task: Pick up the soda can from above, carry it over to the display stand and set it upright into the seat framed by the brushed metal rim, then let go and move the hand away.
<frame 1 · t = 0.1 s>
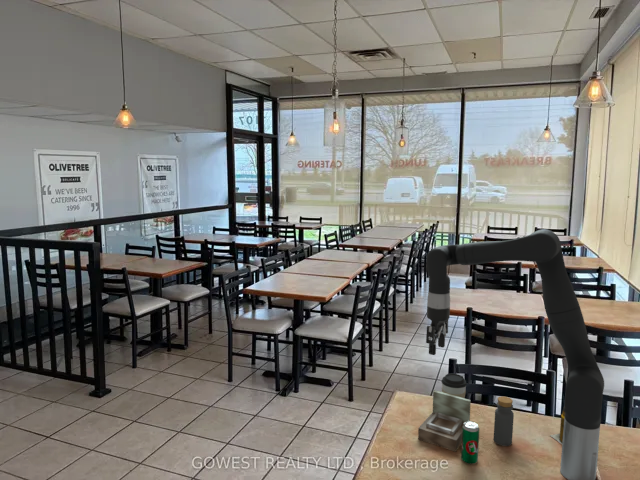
hand: (436, 350, 162), 29 cm above the table, tool pointing down, fingers open, 8 cm apart
display stand: (443, 435, 162), on the table
bottle: (502, 441, 159), on the table
soda can: (469, 460, 149), on the table
coffee cup: (452, 414, 177), on the table
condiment: (567, 441, 160), on the table
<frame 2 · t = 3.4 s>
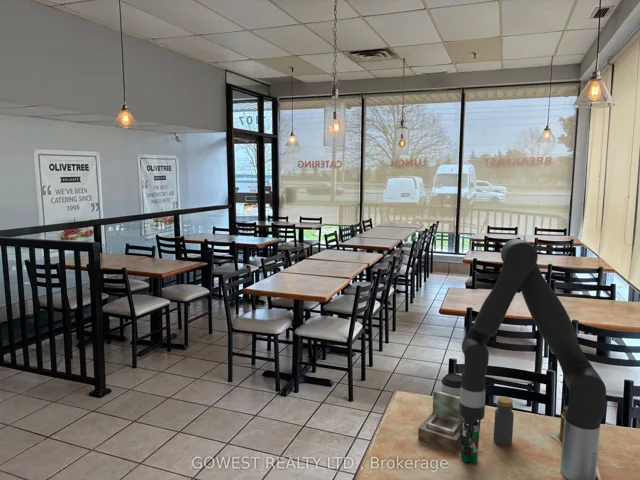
hand: (469, 451, 148), 3 cm above the table, tool pointing down, fingers closed on soda can, 5 cm apart
soda can: (469, 460, 149), on the table, touching gripper
everything else where it was.
when the fingers open (8 cm above the table, at t = 8.4 s): soda can drops 1 cm, resting on display stand.
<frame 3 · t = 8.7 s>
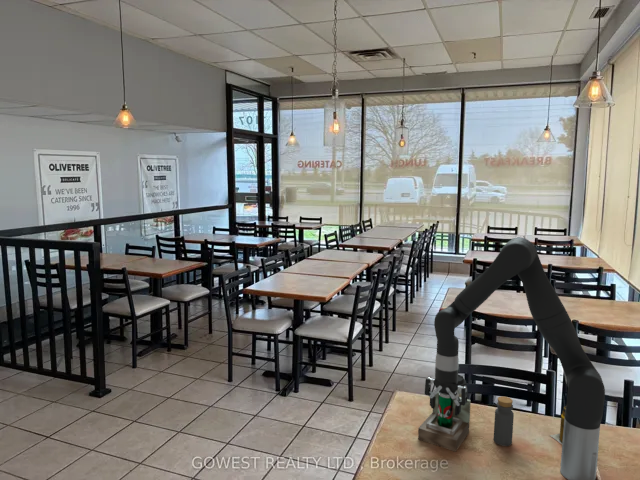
hand: (444, 411, 161), 9 cm above the table, tool pointing down, fingers open, 8 cm apart
soda can: (444, 425, 162), point 4 cm above the table, touching display stand
everything else where it was.
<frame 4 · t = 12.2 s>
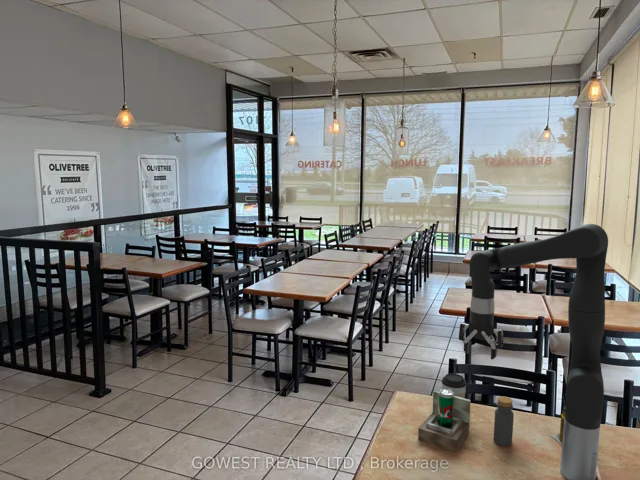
hand: (479, 355, 160), 28 cm above the table, tool pointing down, fingers open, 8 cm apart
nothing on the table moved.
at the end: soda can 0.2 cm off-centre on the display stand, point 3.8 cm above the display stand's base; soda can tilted 0°; the gripper is holding nothing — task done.
